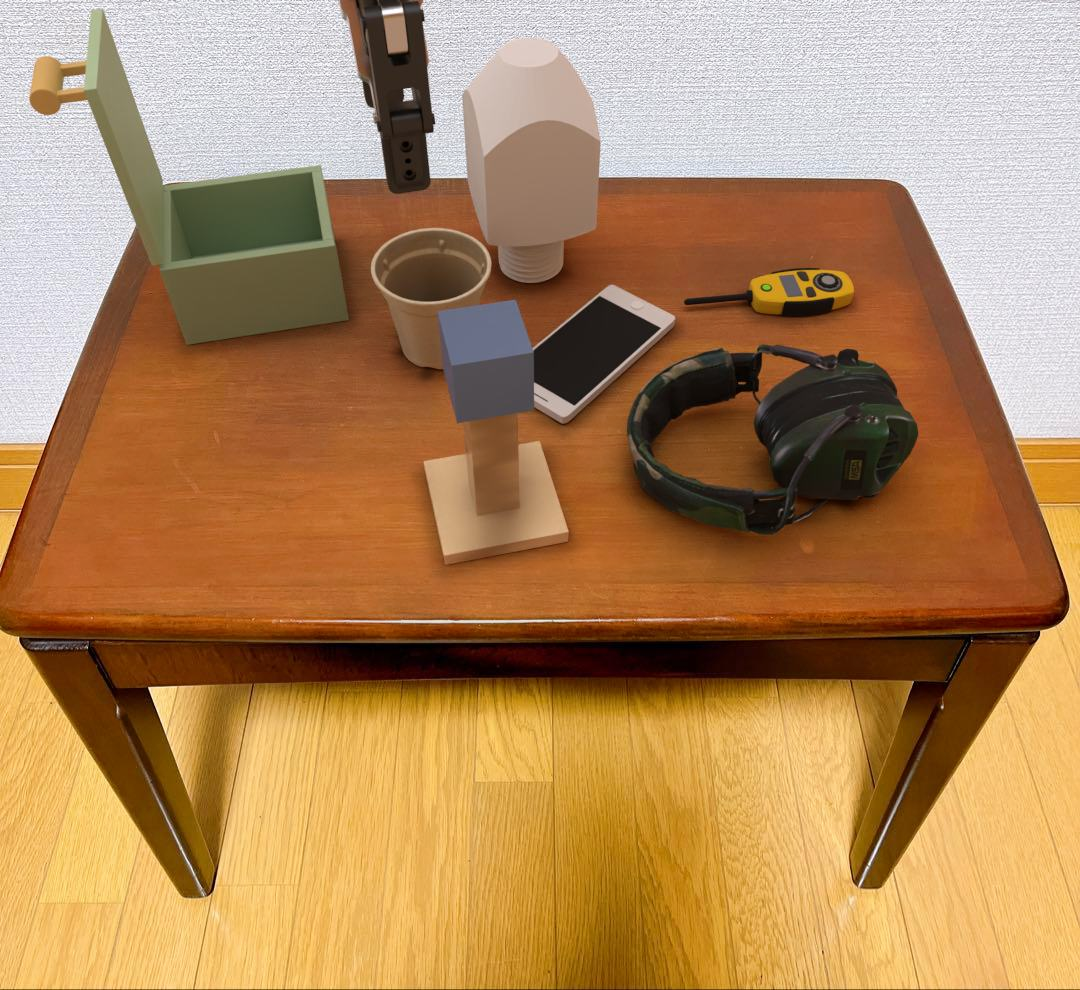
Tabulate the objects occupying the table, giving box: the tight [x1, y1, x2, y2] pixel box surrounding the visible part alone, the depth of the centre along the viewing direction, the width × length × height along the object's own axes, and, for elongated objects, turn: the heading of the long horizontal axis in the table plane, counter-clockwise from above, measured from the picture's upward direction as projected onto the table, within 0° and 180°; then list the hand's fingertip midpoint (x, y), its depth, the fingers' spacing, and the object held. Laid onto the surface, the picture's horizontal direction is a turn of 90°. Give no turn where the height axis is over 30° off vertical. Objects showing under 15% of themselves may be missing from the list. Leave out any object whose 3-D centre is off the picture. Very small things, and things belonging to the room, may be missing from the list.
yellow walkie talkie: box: [683, 267, 855, 317], centre depth 89 cm, size 5×2×15 cm
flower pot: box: [370, 227, 492, 370], centre depth 82 cm, size 9×9×9 cm
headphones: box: [626, 343, 919, 536], centre depth 74 cm, size 13×13×20 cm
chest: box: [159, 164, 350, 346], centre depth 87 cm, size 14×12×8 cm
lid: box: [28, 8, 164, 267], centre depth 77 cm, size 15×12×6 cm
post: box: [423, 413, 570, 566], centre depth 70 cm, size 9×9×12 cm
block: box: [438, 299, 535, 424], centre depth 64 cm, size 5×5×5 cm
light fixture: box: [461, 37, 602, 284], centre depth 85 cm, size 9×9×20 cm
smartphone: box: [532, 284, 676, 424], centre depth 85 cm, size 7×16×1 cm, turn 141°
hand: (396, 144), depth 55 cm, fingers open, 8 cm apart
